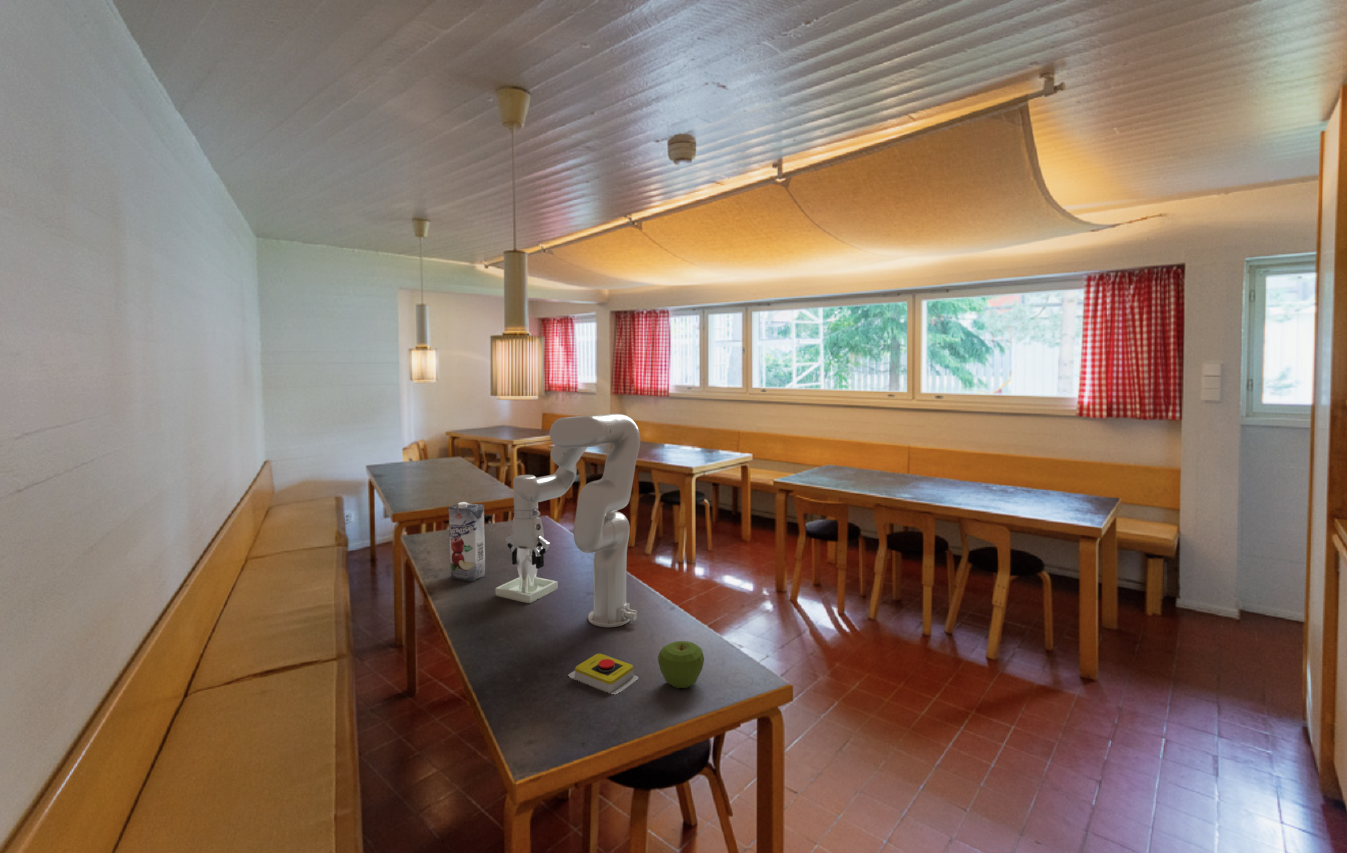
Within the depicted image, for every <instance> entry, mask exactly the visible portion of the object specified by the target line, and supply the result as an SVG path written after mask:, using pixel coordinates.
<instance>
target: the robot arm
mask: <svg viewBox="0 0 1347 853" xmlns="http://www.w3.org/2000/svg"><path fill="white" fill-rule="evenodd" d="M549 438H550V441H551V443H552V444H553V445H554V446H553V447H552V448H551V450H550V457H551V460H552V461H553V463H554V464H555V465H557V466H558V467H557V469H556V471H555V472H554V473H553V474H549V475H544V476H543V475H542V476H538V477H537V476H535V475H534V474H521V475H517V476H515V477H514V478H513V481H512V483H513V484H512V485H513V486H512V487H513V488H512V489H513V513H514V514H513V519H512V523H511V524H512V526H511V534H510V535H508V536H506V537H505V541H506V544H507V547H508V549H509V551H510V553H511V561H512V563H511V564H512V565H517V559H516V558H517V546H518V547H519V548H524V549H527V548H529V549H530V550H534V551H535V553H536V555H537V556H536V569H537V570H538V569H541V568H543V567H544V565H545V562H544V560H545V558H544V555H546V553H547V552H548V550H549V547H550V544H551V543H550V542H549V541H548V540H546V539H545V536H544V534H545V533H544V526H543V522H542V518H541V517H539V516H541V511H539V503H541V502H544V501H545V502H546V501H547V500H548V501H549V500H552V499H557V498H560V497H562V496H563V495H565V494H566V493H567V492H568V491H569V489H570V488H571V486H572V485H573V483H574V482H575V480H576V478H577V473H578V472H577V463H578V462H579V461H580V459H581V457H582V455H583V454H584V453H585V451H586V450H587V449H588V448H594V447H601V446H607V445H612V448H611V450H610V452H608V455H607V457H606V459H605V463H604V470H603V475H602V477H601V478H600V479H597V480H593V481H589V482H588V483H586V484H585V485H584V486H583V487H582V489H581V490H580V492H579V495H578V498H577V505H576V512H575V519H574V525H573V540H574V544H575V545H576V548H577V549H578V550H579V551H580V552H583V553H585V554H592V553H594V556H593V569H592V570H593V571H592V572H593V574H592V575H593V610H592V611H590V612H589V613H588V616H587V618H588V619H587V620H588V622H589V623H590V624H591V625H593V626H597V627H601V628H617V627H621V626H623V625H624V626H625V625H627V624H629V622H630V621H631V620H632V621H636V620H637V618H638V617H637V616H638V610H636V609H631V608H630V606H631V604H630V602H627V554H628V553H627V552H628V546H629V544H628V543H629V538H630V530H631V526H630V522H629V520H628V518H627V517H626V515H625V514H624V513H622V512H620V511H619V510H622V509H624V508H625V507H627V506H628V504H629V503H630V499H631V496H632V488H633V483H634V482H633V481H634V477H635V471H636V466H637V460H638V456H639V452H640V448H641V432H640V430H639V428H638V425H637V424H636V422H635V421H634V419H632V418H631V417H630V416H628V415H626V414H622V413H606V414H597V415H586V416H582V415H579V416H567V417H560V418H558V419H556V420H554V422H553V423H552V424H551V427H550V429H549Z"/></svg>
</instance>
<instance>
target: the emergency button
mask: <svg viewBox="0 0 1347 853" xmlns="http://www.w3.org/2000/svg"><path fill="white" fill-rule="evenodd" d="M567 676H569V677H568V678H569V679H572V680H575V681H577V680H578V681H577V682H579V681H580V682H579V683H582V684H585V685H587V684H588V685H587V686H589V687H592V688H594V689H597V690H599V691H603V692H604V693H607V692H608V693H607V694H610V693H611V694H610V695H613V694H614V696H615V695H616V694H617V695H619V694H620V693H621V692H622V691H625V689H627V688H629V686H631V685H632V684H634V683H635V682H637V681H638V680H639V676H637V675H634V665H633V664H631V663H628V662H625V661H622V660H620V659H616V658H614V657H611V656H608V655H607V654H603V653H596V654H594V655H593V656H591V657H589V658H588V659H586V660H585V661H582V662H581V663H579V664H577V665H576V666H575V668H574V670H573V671H572V672H570V673H569V674H567ZM636 680H637V681H636ZM619 692H620V693H619ZM618 693H619V694H618Z"/></svg>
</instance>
